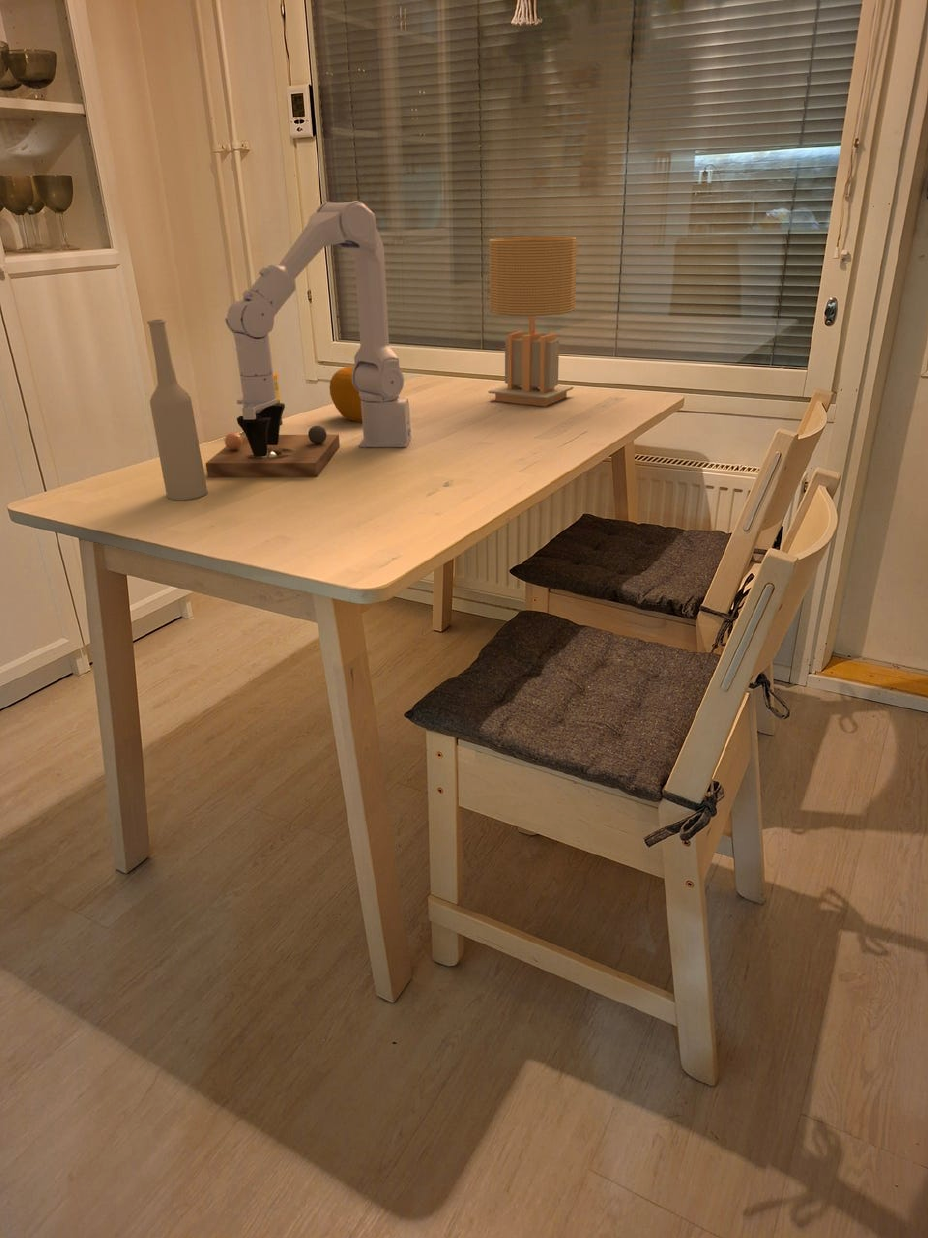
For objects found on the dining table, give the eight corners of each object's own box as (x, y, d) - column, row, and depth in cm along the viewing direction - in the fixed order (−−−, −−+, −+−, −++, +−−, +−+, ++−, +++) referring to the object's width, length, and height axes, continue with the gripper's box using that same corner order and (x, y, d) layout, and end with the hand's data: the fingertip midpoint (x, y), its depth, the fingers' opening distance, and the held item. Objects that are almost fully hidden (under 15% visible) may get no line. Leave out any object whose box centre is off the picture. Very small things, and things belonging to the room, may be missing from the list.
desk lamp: (585, 394, 205) (591, 236, 190) (548, 411, 191) (552, 241, 175) (515, 387, 215) (516, 236, 199) (475, 402, 200) (472, 240, 184)
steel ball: (278, 471, 155) (281, 458, 157) (274, 460, 152) (277, 446, 154) (261, 471, 155) (264, 458, 157) (257, 459, 152) (260, 446, 154)
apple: (321, 423, 186) (316, 370, 180) (350, 410, 196) (346, 359, 191) (373, 427, 181) (369, 372, 176) (399, 413, 192) (396, 362, 187)
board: (339, 446, 167) (338, 434, 166) (317, 476, 150) (315, 462, 148) (241, 447, 169) (240, 434, 168) (207, 476, 151) (205, 463, 150)
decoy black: (328, 441, 162) (327, 423, 160) (325, 445, 159) (323, 428, 157) (311, 441, 162) (309, 423, 160) (307, 446, 159) (305, 428, 157)
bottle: (185, 503, 138) (153, 324, 125) (158, 497, 141) (124, 321, 129) (215, 491, 143) (187, 318, 130) (189, 486, 146) (159, 316, 134)
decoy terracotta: (245, 447, 159) (243, 430, 158) (240, 451, 156) (238, 434, 155) (229, 447, 159) (226, 430, 158) (223, 451, 156) (221, 434, 155)
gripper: (246, 366, 153) (256, 439, 159) (220, 381, 140) (232, 461, 146) (284, 365, 153) (293, 439, 159) (261, 381, 140) (272, 461, 146)
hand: (266, 450), depth 153 cm, fingers open, 7 cm apart
